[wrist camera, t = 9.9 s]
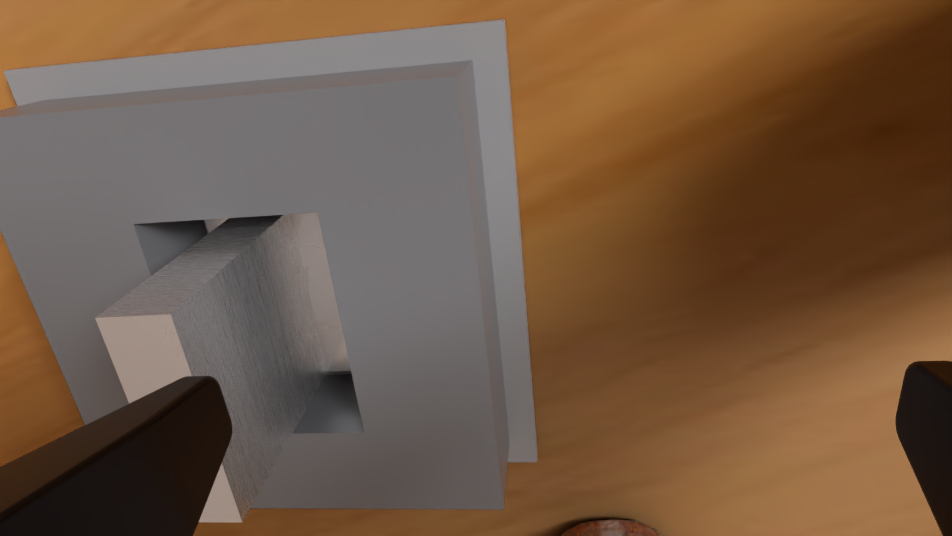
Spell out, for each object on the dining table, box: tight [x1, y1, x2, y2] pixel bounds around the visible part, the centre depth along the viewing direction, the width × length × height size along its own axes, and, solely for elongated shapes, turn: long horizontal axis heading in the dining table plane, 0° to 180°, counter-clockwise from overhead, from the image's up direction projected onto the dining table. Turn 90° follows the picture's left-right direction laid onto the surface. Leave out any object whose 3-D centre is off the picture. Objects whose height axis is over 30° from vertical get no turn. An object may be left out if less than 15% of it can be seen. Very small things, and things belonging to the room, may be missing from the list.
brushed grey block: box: [95, 213, 351, 522], centre depth 18 cm, size 4×6×8 cm, turn 6°
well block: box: [0, 19, 538, 510], centre depth 21 cm, size 16×16×4 cm
